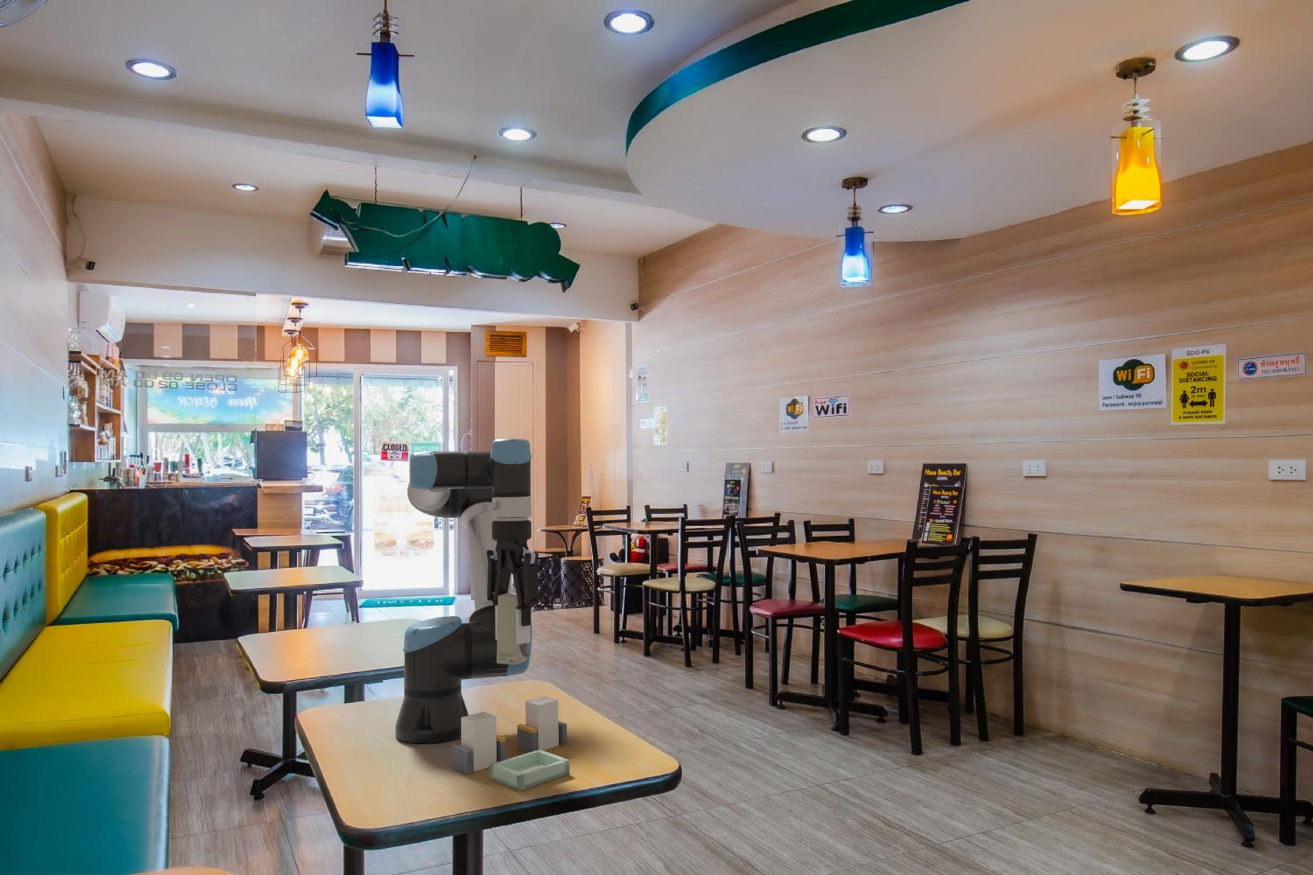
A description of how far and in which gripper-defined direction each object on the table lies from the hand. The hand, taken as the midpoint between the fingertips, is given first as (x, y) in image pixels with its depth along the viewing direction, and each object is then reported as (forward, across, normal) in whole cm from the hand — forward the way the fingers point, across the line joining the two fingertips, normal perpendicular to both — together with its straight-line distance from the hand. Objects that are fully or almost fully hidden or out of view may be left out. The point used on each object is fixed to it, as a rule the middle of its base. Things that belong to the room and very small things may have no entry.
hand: (512, 640), depth 167 cm
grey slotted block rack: (+22, -2, +1) cm, 22 cm away
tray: (+22, +10, -4) cm, 25 cm away
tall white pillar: (+22, -2, +8) cm, 24 cm away
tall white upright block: (+22, -2, -7) cm, 23 cm away
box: (+4, 0, 0) cm, 4 cm away
